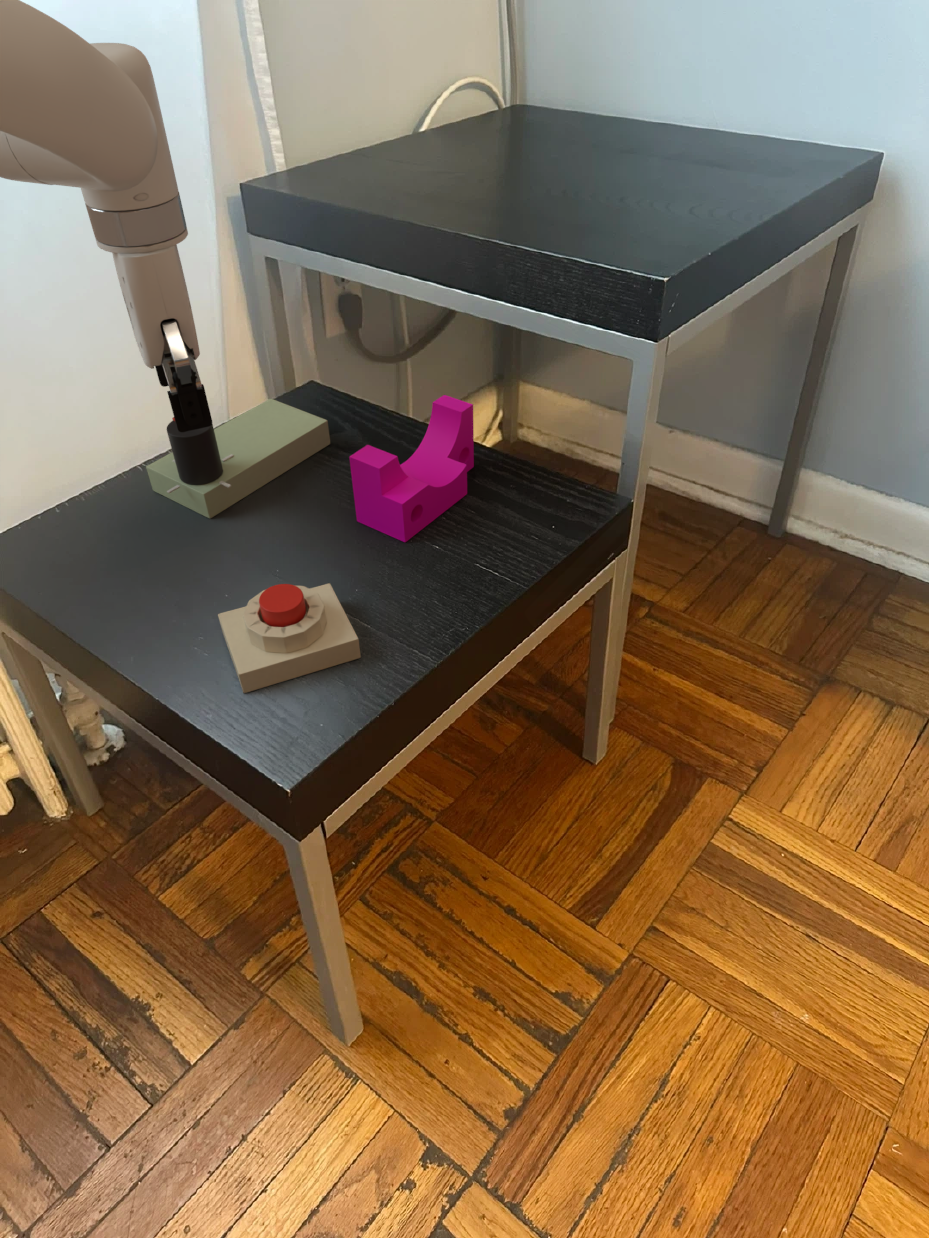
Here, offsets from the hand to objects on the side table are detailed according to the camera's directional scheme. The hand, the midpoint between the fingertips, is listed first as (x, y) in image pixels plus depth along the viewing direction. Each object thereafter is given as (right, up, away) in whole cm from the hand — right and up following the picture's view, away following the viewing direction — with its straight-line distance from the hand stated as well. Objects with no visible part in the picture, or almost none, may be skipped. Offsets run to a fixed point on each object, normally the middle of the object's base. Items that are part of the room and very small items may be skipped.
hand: (185, 404), depth 85 cm
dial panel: (+3, -5, +11) cm, 12 cm away
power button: (+12, -20, -12) cm, 27 cm away
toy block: (+23, -8, +7) cm, 25 cm away
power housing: (+12, -23, -10) cm, 28 cm away
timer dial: (0, -6, +5) cm, 8 cm away
